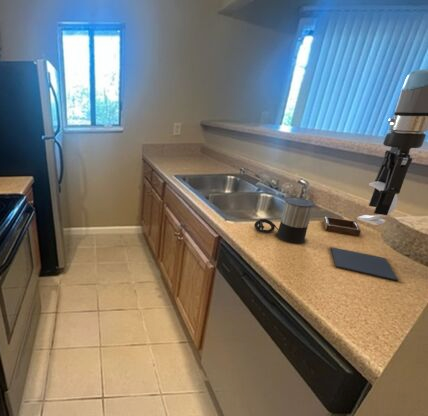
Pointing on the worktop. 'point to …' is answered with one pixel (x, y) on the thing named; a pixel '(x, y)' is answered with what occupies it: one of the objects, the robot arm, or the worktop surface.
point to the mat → (363, 263)
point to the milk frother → (291, 220)
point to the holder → (351, 231)
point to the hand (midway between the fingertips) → (377, 210)
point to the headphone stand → (375, 219)
